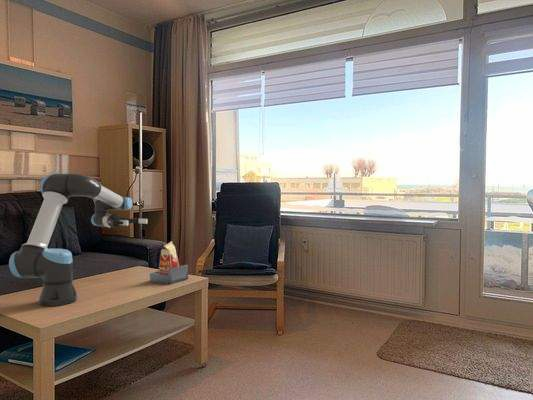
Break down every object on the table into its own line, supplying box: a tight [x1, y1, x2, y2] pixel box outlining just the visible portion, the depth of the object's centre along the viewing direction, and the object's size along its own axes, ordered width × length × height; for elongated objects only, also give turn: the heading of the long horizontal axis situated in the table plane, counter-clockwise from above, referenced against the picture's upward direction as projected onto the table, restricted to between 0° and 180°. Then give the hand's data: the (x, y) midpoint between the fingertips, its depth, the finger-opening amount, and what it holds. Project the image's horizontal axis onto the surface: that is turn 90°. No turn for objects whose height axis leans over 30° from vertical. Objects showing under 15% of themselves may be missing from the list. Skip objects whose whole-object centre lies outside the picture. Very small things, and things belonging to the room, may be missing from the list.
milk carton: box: [158, 241, 180, 275], centre depth 220 cm, size 9×9×20 cm
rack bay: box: [149, 264, 189, 285], centre depth 220 cm, size 14×15×8 cm
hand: (137, 222), depth 223 cm, fingers open, 13 cm apart
